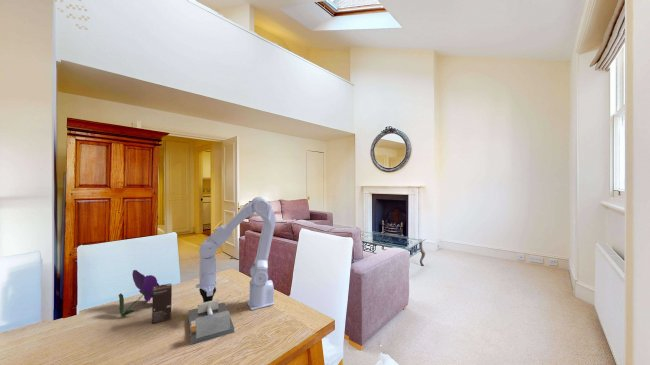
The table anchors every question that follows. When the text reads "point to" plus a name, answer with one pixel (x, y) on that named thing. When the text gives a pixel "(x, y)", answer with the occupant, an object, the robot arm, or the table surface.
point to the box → (161, 302)
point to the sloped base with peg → (210, 324)
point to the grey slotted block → (208, 306)
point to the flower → (145, 288)
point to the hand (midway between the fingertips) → (207, 306)
